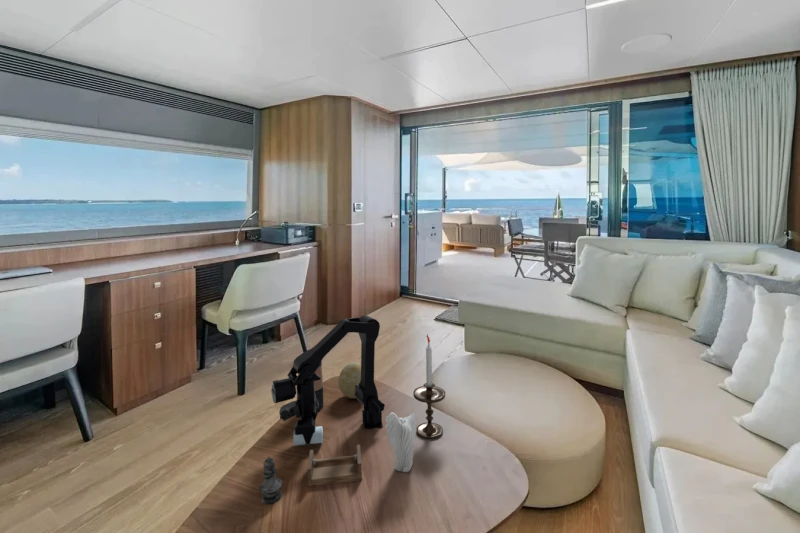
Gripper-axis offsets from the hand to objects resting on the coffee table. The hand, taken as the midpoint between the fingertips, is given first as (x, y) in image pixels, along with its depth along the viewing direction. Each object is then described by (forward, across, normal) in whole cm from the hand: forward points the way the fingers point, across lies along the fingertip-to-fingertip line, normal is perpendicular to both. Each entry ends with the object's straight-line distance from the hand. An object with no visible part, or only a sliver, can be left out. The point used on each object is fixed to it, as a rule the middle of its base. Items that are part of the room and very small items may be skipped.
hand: (308, 439), depth 127 cm
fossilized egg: (+2, -31, +16) cm, 35 cm away
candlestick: (+2, 0, +41) cm, 41 cm away
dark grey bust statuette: (+2, +23, -8) cm, 24 cm away
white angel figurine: (+2, +17, +29) cm, 34 cm away
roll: (+1, 0, 0) cm, 1 cm away
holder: (+2, +16, +9) cm, 18 cm away
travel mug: (+2, -25, 0) cm, 25 cm away
